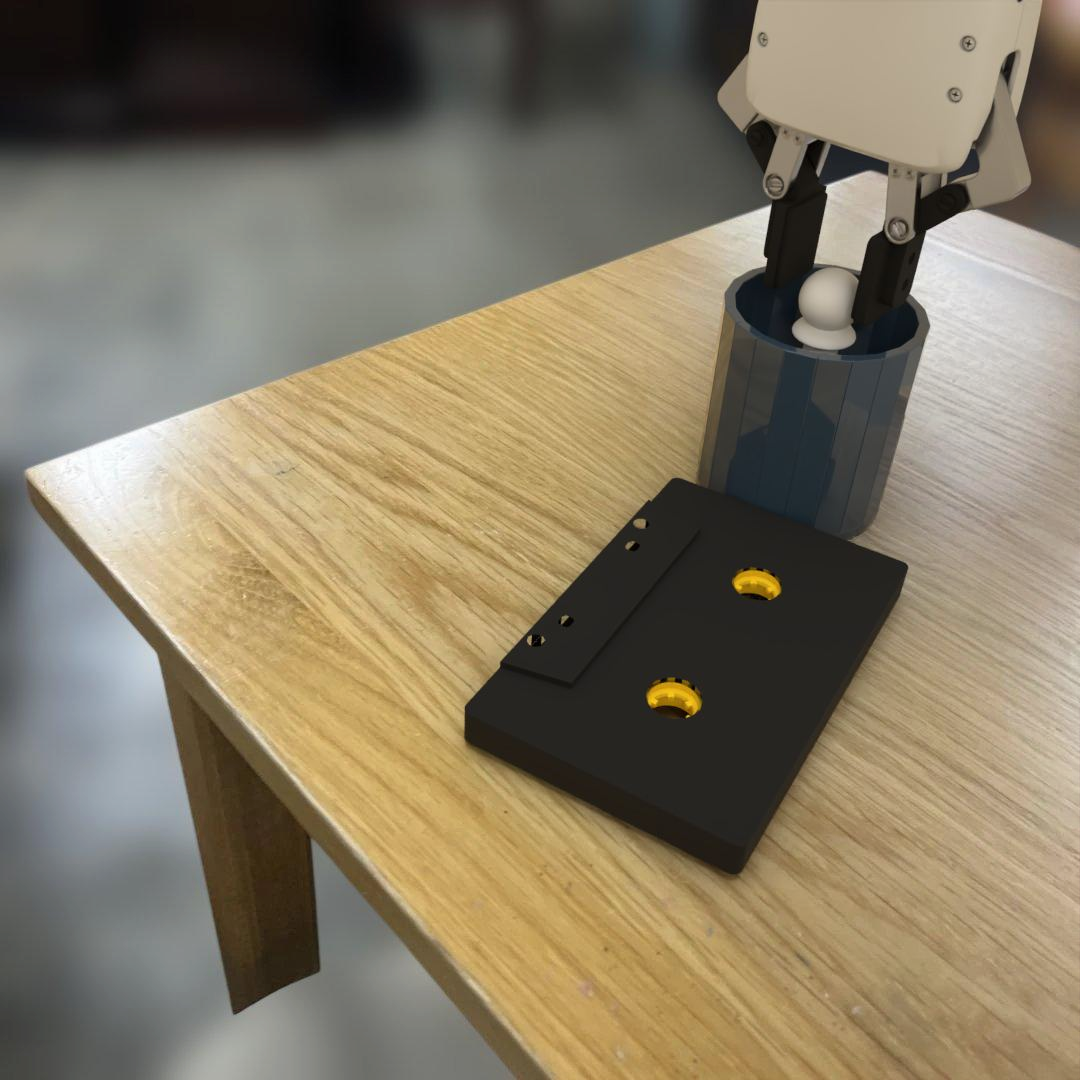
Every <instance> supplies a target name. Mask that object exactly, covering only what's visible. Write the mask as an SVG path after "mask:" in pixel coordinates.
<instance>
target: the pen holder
mask: <svg viewBox="0 0 1080 1080" xmlns="http://www.w3.org/2000/svg"><path fill="white" fill-rule="evenodd" d="M824 268H840V269H843V270H846V271H848V272H850V273H851V274H853V275H854V276H855V277H856V278H857V279H858V281H859V277H860V273H861V270H858V269H854V268H849V267H844V266H841V265H836V264H827V263H819V262H814V266H813V268H812V270H811V271H810V272H808V273H807V274H805V275H803V276H802V277H800V278H798V279H796V280H795V281H793V282H791V283H790V284H788V285H786V286H785V287H783V288H781V289H777V290H772V289H770V288H767V287H765V286H764V285H763V281H764V275H765V269H766V265H765V266H761V267H756V268H753V269H750V270H748V271H746V272H745V273H743V274H741V275H739V276H737V277H736V278H734V279H733V280H732V281H731V283H730V284H729V286H728V287H727V289H726V290H725V291H724V294H723V299H722V306H721V312H720V319H719V325H718V331H717V338H716V344H715V349H714V350H715V351H714V356H713V364H712V370H711V376H710V383H709V389H708V396H707V402H706V407H705V413H704V420H703V426H702V427H703V428H702V434H701V440H700V447H699V453H698V459H697V470H696V480H695V481H696V484H697V485H700V486H703V487H705V488H708V489H711V490H713V491H716V492H719V493H721V494H724V495H727V496H729V497H732V498H735V499H737V500H740V501H743V502H745V503H748V504H751V505H754V506H756V507H759V508H762V509H764V510H767V511H770V512H772V513H775V514H778V515H780V516H783V517H786V518H788V519H791V520H794V521H796V522H799V523H802V524H804V525H807V526H810V527H812V528H815V529H818V530H820V531H823V532H826V533H828V534H831V535H834V536H836V537H839V538H842V539H844V540H847V541H848V540H850V539H852V538H855V537H856V536H858V535H860V534H861V533H864V531H866V530H867V529H868V528H869V527H870V526H871V525H872V523H874V521H875V520H876V518H877V516H878V514H879V510H880V506H881V503H882V500H883V498H884V495H885V491H886V488H887V484H888V480H889V477H890V473H891V470H892V467H893V466H892V465H893V462H894V458H895V455H896V451H897V448H898V445H899V442H900V441H899V440H900V437H901V433H902V430H903V426H904V423H905V419H906V416H907V412H908V408H909V406H910V401H911V398H912V395H913V391H914V387H915V384H916V380H917V377H918V373H919V370H920V365H921V363H922V359H923V355H924V351H925V348H926V344H927V340H928V337H929V334H930V330H931V322H930V319H929V316H928V313H927V311H926V309H925V307H924V306H923V305H921V303H920V302H919V301H918V300H917V299H916V298H915V297H914V296H913V295H912V294H911V293H910V294H909V296H908V297H907V299H906V301H905V302H904V303H903V304H902V305H900V306H899V307H898V308H893V309H892V310H890V311H889V312H887V313H886V314H885V315H883V316H882V317H880V318H879V319H877V320H876V321H874V322H873V323H871V324H870V325H868V326H867V327H863V326H860V325H858V324H856V323H854V322H853V323H852V324H851V326H852V328H853V329H854V331H855V333H856V340H855V342H854V343H853V344H852V345H851V346H849V347H847V348H845V349H840V350H838V355H834V354H823V353H816V352H812V351H808V350H804V349H802V348H803V345H804V343H802V342H800V341H799V340H798V339H797V338H795V336H794V335H793V333H792V327H793V325H794V323H795V322H796V321H797V320H798V319H800V318H801V317H803V316H802V314H801V312H800V309H799V293H800V290H801V288H802V286H803V284H804V282H805V281H806V279H807V278H808V277H809V276H811V275H812V274H813V273H815V272H816V271H819V270H821V269H824Z"/></svg>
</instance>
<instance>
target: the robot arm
mask: <svg viewBox="0 0 1080 1080" xmlns="http://www.w3.org/2000/svg"><path fill="white" fill-rule="evenodd" d="M1042 5H1043V0H758V2H757V6H756V10H755V15H754V22H753V27H752V32H751V37H750V43H749V50H748V52H747V54H746V55H745V56H744V58H743V59H742V60H741V61H740V62H739V64H738V65H737V66H736V68H735V69H734V70H733V72H732V73H731V74H730V76H728V78H727V80H726V81H725V82H724V83H723V85H722V86H720V88H719V90H718V92H717V97H716V98H717V102H718V105H719V107H720V108H721V109H722V110H723V111H724V113H725V114H726V115H727V116H728V117H729V119H730V120H731V121H732V122H733V124H734V125H735V126H736V127H737V128H738V130H739V131H740V132H741V133H744V134H745V139H746V143H747V145H748V147H749V149H750V151H751V152H752V155H753V156H754V159H755V160H756V162H757V165H758V166H759V167H760V169H761V171H762V173H763V175H764V176H763V179H762V188H763V192H764V194H765V195H766V196H767V197H768V198H770V199H771V205H770V211H769V217H768V222H767V229H766V235H765V240H764V246H763V256H764V258H765V259H766V265H765V266H766V269H765V275H764V281H763V285H764V286H765V287H767V288H770V289H772V290H777V289H781V288H783V287H785V286H786V285H788V284H790V283H791V282H793V281H795V280H796V279H798V278H800V277H802V276H803V275H805V274H807V273H808V272H810V271H811V270H812V268H813V266H814V263H815V262H816V256H817V251H818V245H819V243H820V242H819V240H820V237H821V232H822V227H823V222H824V221H823V220H824V217H825V211H826V207H827V202H828V193H827V187H828V186H827V185H825V184H821V183H820V175H821V173H822V170H823V167H824V164H825V162H826V159H827V156H828V153H829V151H830V148H831V146H832V145H833V146H837V147H839V148H843V149H846V150H849V151H851V152H856V153H857V154H862V155H864V156H867V157H870V158H874V159H876V160H880V161H882V162H885V163H888V171H887V183H886V184H887V185H886V186H887V187H886V200H885V213H884V221H883V226H882V229H881V230H880V231H878V232H877V233H875V234H873V235H872V236H870V237H869V239H868V241H867V243H866V247H865V248H866V249H865V252H864V255H863V256H864V257H863V261H862V265H861V270H860V271H861V273H860V277H859V282H858V286H857V290H856V295H855V299H854V303H853V308H852V312H851V318H852V319H853V322H854V323H856V324H858V325H860V326H863V327H867V326H868V325H870V324H871V323H873V322H874V321H876V320H877V319H879V318H880V317H882V316H883V315H885V314H886V313H887V312H889V311H890V310H892V309H893V308H898V307H899V306H900V305H902V304H903V303H904V302H905V301H906V299H907V297H908V296H909V294H911V291H912V288H913V284H914V280H915V278H916V277H915V276H916V272H917V269H918V265H919V261H920V258H921V254H922V250H923V246H924V242H925V239H926V234H927V231H929V230H931V229H933V228H935V227H937V226H938V225H940V224H942V223H944V222H946V221H948V220H950V219H951V218H953V217H956V216H957V215H958V214H962V213H967V212H969V211H976V210H979V209H984V208H987V207H991V206H995V205H999V204H1004V203H1007V202H1009V201H1012V200H1014V199H1015V198H1017V197H1018V196H1020V195H1021V194H1024V192H1026V191H1027V190H1028V189H1029V188H1030V186H1031V184H1032V175H1031V171H1030V167H1029V163H1028V159H1027V156H1026V152H1025V148H1024V144H1023V141H1022V136H1021V132H1020V129H1019V124H1018V121H1017V117H1018V113H1019V109H1020V106H1021V103H1022V99H1023V95H1024V91H1025V87H1026V84H1027V83H1026V82H1027V78H1028V74H1029V69H1030V66H1031V65H1030V64H1031V61H1032V57H1033V56H1032V55H1033V52H1034V46H1035V43H1036V37H1037V31H1038V27H1039V22H1040V16H1041V11H1042ZM971 149H972V150H975V152H976V155H977V160H978V164H979V165H978V166H979V168H978V170H977V171H978V172H975V173H972V174H963V175H961V176H958V177H957V178H955V179H953V180H951V181H950V182H948V174H949V173H952V172H956V171H957V170H959V169H960V168H961V167H962V166H964V164H965V162H966V160H967V159H968V156H969V154H970V151H971ZM947 182H948V183H947Z"/></svg>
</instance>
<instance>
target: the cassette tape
mask: <svg viewBox="0 0 1080 1080" xmlns="http://www.w3.org/2000/svg"><path fill="white" fill-rule="evenodd" d="M636 520H645V526H644V528H642V527H637V526H636V525H635V524H634V522H635V521H636ZM631 542H634V543H633V544H632V545H631V546H630V547H629V548H627V547H626V546H628V544H629V543H631ZM908 571H909V565H908V564H907V563H906V562H905V561H903V560H900V559H897V558H895V557H892V556H890V555H887V554H884V553H881V552H879V551H877V550H873V549H870V548H869V547H865V546H863V545H860V544H857V543H855V542H852V541H849V540H848V539H847V540H844V539H842V538H839V537H836V536H834V535H831V534H828V533H826V532H823V531H820V530H818V529H815V528H812V527H810V526H807V525H804V524H802V523H799V522H796V521H794V520H791V519H788V518H786V517H783V516H780V515H778V514H775V513H772V512H770V511H767V510H764V509H762V508H759V507H756V506H754V505H751V504H748V503H745V502H743V501H740V500H737V499H735V498H732V497H729V496H727V495H724V494H721V493H719V492H716V491H713V490H711V489H708V488H705V487H703V486H700V485H697V483H695V482H692V481H689V480H687V479H685V478H681V477H672V478H671V479H669V481H668V482H667V483H666V484H665V486H663V488H662V489H660V491H659V492H658V493H657V494H656V495H655V496H654V497H653V499H652V500H650V499H648V500H646V502H645V503H644V504H643V505H642V506H641V507H640V509H639V510H637V512H636V513H634V515H632V517H631V518H630V519H629V520H628V521H627V523H626V524H625V525H624V526H623V527H622V528H621V529H620V530H619V531H618V532H617V533H616V535H615V536H614V537H613V538H612V539H611V540H610V541H609V542H608V543H607V545H606V546H604V547H603V548H602V550H601V551H600V552H599V553H598V554H597V555H596V556H595V558H593V559H592V561H591V562H590V563H589V564H588V565H587V566H586V567H585V569H584V570H582V571H581V572H580V574H579V575H578V576H577V577H576V578H575V579H574V580H573V581H572V583H570V585H569V586H568V587H567V588H566V589H565V590H564V591H563V593H561V594H560V596H559V597H558V598H557V599H556V600H555V601H554V602H553V603H552V604H551V606H549V608H548V609H547V610H546V611H545V612H544V613H543V614H542V616H540V618H539V619H538V620H537V621H536V622H535V623H534V624H533V625H532V626H531V627H530V629H528V631H527V632H526V633H525V634H524V635H523V636H522V637H521V638H520V639H519V640H518V642H516V644H515V645H514V646H513V647H512V648H511V649H510V650H509V651H508V653H506V655H505V656H504V657H503V658H502V659H501V660H500V662H499V664H500V665H499V668H498V669H497V670H496V671H495V672H494V673H493V674H492V675H491V676H490V677H489V678H488V680H487V681H486V682H484V684H483V685H482V686H481V687H480V688H479V689H478V690H477V692H476V693H475V694H474V695H473V696H471V698H470V699H469V700H468V701H467V702H466V704H465V705H464V717H463V718H464V720H463V721H464V725H463V726H464V728H463V729H464V730H463V732H464V734H463V737H464V738H463V739H464V740H465V742H466V743H468V744H470V745H471V746H473V747H475V748H478V749H479V750H482V751H484V752H486V753H488V754H490V755H492V756H493V757H495V758H498V759H499V760H502V761H503V762H506V763H508V764H510V765H512V766H513V767H515V768H518V769H519V770H522V771H524V772H525V773H527V774H529V775H531V776H533V777H536V778H538V779H540V780H541V781H543V782H545V783H548V784H549V785H552V786H554V787H555V788H557V789H559V790H561V791H564V792H565V793H568V794H569V795H572V796H574V797H575V798H577V799H579V800H581V801H583V802H584V803H585V802H586V803H588V804H590V805H592V806H593V807H595V808H596V809H597V808H598V809H599V810H601V811H603V812H605V813H608V814H609V815H611V816H613V817H615V818H617V819H619V820H621V821H623V822H625V823H627V824H629V825H631V826H633V827H635V828H637V829H638V830H641V831H643V832H645V833H647V834H649V835H651V836H652V837H655V838H657V839H659V840H661V841H662V842H666V843H667V844H669V845H671V846H673V847H675V848H677V849H679V850H681V851H683V852H685V853H687V854H689V855H691V856H693V857H695V858H697V859H699V860H701V861H703V862H705V863H707V864H709V865H710V866H712V867H715V868H717V869H719V870H721V871H723V872H724V873H726V874H729V875H735V876H736V875H739V874H741V872H743V870H744V868H745V866H746V865H747V863H748V861H749V859H750V858H751V856H752V854H753V852H754V851H755V849H756V847H757V845H758V844H759V842H760V841H761V839H762V837H763V835H764V833H765V831H766V830H767V828H768V826H769V824H770V822H771V821H772V819H773V818H774V816H775V814H776V813H777V811H778V809H779V807H780V806H781V804H782V802H783V800H784V798H785V797H786V795H787V794H788V791H789V790H790V788H791V786H792V784H793V783H794V782H795V779H796V778H797V776H798V774H799V773H800V771H801V769H802V768H803V766H804V764H805V762H806V760H807V759H808V757H809V755H810V754H811V751H812V750H813V748H814V746H815V744H816V743H817V741H818V740H819V738H820V736H821V734H822V732H823V731H824V730H825V727H826V725H827V723H828V722H829V720H830V719H831V717H832V715H833V714H834V711H835V710H836V708H837V706H838V704H839V703H840V701H841V699H842V698H843V696H844V694H845V692H846V691H847V689H848V688H849V685H850V684H851V682H852V680H853V678H854V677H855V675H856V673H857V671H858V670H859V668H860V666H861V665H862V662H863V661H864V659H865V657H867V654H868V653H869V650H870V649H871V647H872V645H873V644H874V641H875V640H876V638H877V637H878V635H879V634H880V632H881V630H882V628H883V626H884V625H885V623H886V621H887V619H888V617H889V616H890V614H891V613H892V611H893V609H894V607H895V606H896V604H897V601H898V600H899V598H900V596H901V593H902V590H903V587H904V584H905V581H906V577H907V574H908ZM746 596H753V597H758V598H762V599H763V600H762V599H761V600H759V599H753V598H749V597H746ZM563 617H567V618H566V619H565V620H564V621H563ZM562 621H563V622H562ZM529 637H530V639H531V640H530V644H529V642H528V640H529ZM542 638H543V639H542ZM542 640H544V641H542ZM659 707H674V708H676V709H680V710H682V711H684V712H686V713H687V715H686V716H685V717H684V718H672V717H669V716H666V715H662V714H660V713H659V712H657V711H656V710H654V709H657V708H659Z"/></svg>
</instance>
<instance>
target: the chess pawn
mask: <svg viewBox="0 0 1080 1080" xmlns="http://www.w3.org/2000/svg"><path fill="white" fill-rule="evenodd" d="M858 282H859V281H858V279H857V278H856V277H855V276H854V275H853V274H851V273H850V272H848V271H846V270H843V269H840V268H824V269H821V270H819V271H816V272H815V273H813V274H812V275H811V276H809V277H808V278H807V279H806V281H805V282H804V284H803V286H802V288H801V290H800V293H799V309H800V312H801V314H802V316H803V317H801V318H800V319H798V320H797V321H796V322H795V323H794V325H793V327H792V333H793V335H794V336H795V338H797V339H798V340H799V341H800V342H802V343H804V345H803V348H802V349H804V350H808V351H812V352H816V353H823V354H834V355H838V350H840V349H845V348H847V347H849V346H851V345H852V344H853V343H854V342H855V340H856V333H855V331H854V329H853V328H852V326H851V324H852V323H853V319H852V318H851V312H852V308H853V303H854V299H855V295H856V290H857V286H858Z"/></svg>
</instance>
